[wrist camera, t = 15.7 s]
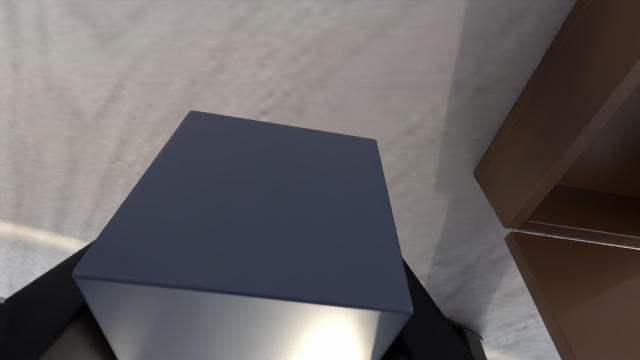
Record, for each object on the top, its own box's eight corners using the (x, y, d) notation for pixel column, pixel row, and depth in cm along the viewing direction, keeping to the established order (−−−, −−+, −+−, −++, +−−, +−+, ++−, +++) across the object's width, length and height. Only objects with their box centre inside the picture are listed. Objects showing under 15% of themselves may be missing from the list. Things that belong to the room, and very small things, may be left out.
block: (339, 252, 10) (345, 414, 7) (201, 235, 10) (136, 398, 7) (377, 137, 8) (417, 312, 4) (190, 108, 7) (66, 274, 4)
